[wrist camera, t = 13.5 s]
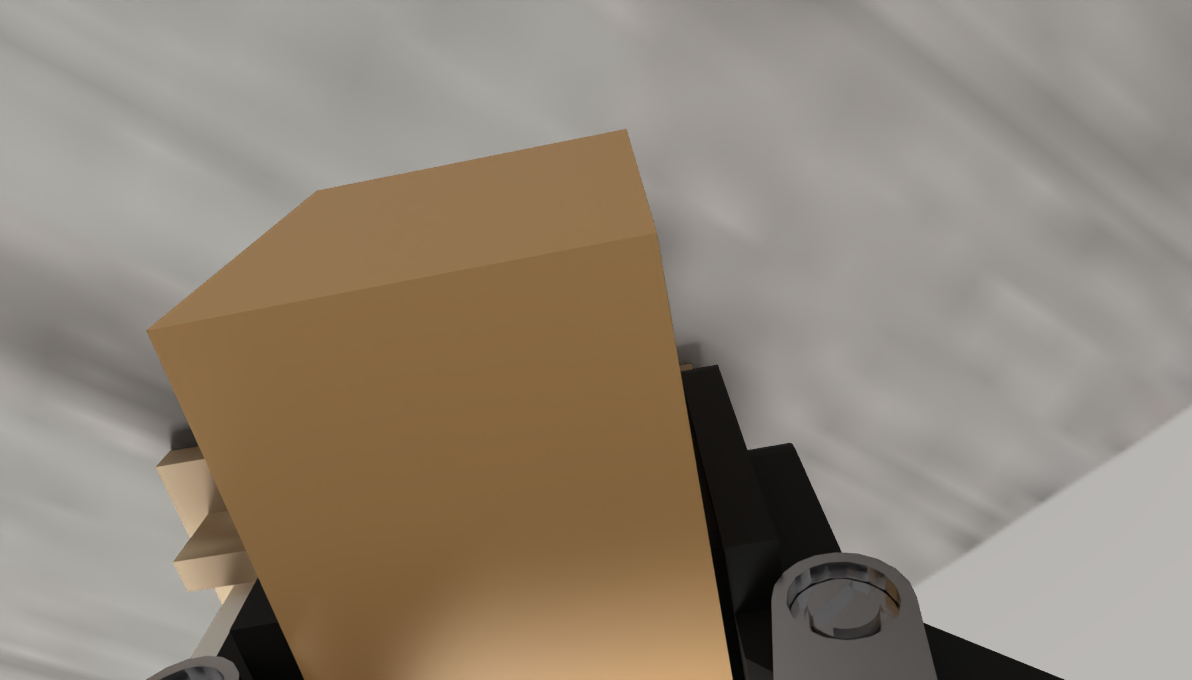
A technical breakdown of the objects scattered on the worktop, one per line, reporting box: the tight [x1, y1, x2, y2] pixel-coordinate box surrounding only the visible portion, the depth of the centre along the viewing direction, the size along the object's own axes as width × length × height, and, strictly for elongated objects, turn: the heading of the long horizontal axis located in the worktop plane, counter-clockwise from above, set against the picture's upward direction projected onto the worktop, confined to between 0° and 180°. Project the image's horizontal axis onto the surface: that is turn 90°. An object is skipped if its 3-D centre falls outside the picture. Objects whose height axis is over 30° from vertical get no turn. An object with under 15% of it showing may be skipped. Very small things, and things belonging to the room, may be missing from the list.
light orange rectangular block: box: [146, 129, 733, 680], centre depth 10 cm, size 4×10×4 cm, turn 11°
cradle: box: [156, 363, 693, 605], centre depth 27 cm, size 18×12×7 cm, turn 101°
